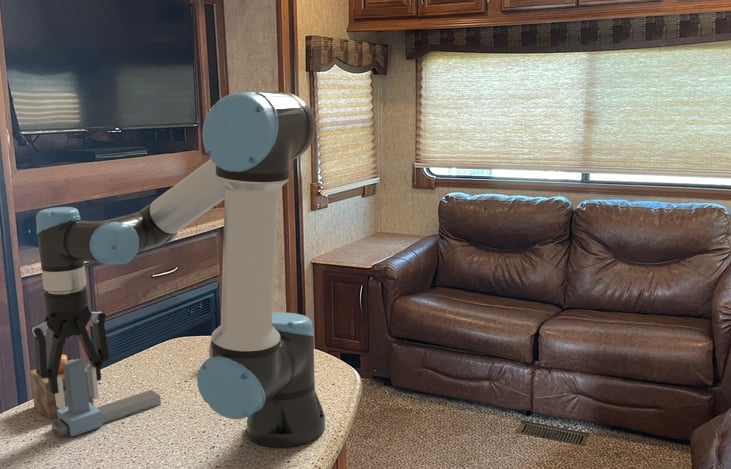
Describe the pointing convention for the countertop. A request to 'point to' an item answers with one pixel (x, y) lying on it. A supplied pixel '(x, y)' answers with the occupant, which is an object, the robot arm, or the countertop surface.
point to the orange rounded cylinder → (63, 360)
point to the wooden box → (49, 394)
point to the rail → (115, 410)
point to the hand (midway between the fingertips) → (77, 401)
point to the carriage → (78, 401)
